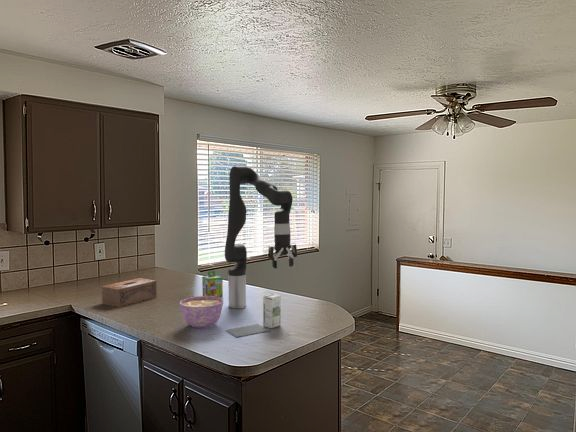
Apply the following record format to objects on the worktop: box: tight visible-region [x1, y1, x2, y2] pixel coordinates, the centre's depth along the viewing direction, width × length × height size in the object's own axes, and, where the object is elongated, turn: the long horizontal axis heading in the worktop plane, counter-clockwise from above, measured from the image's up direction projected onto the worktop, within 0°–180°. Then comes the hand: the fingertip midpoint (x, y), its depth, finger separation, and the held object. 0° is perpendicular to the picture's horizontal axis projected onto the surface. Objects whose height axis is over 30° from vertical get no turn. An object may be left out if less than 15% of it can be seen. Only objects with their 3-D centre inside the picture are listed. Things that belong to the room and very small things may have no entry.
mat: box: [225, 323, 270, 338], centre depth 202 cm, size 11×16×1 cm
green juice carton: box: [201, 270, 224, 298], centre depth 265 cm, size 9×9×15 cm
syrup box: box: [262, 293, 282, 329], centre depth 208 cm, size 6×6×14 cm
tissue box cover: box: [101, 277, 158, 308], centre depth 258 cm, size 26×14×10 cm, turn 147°
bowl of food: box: [179, 295, 224, 330], centre depth 210 cm, size 20×20×12 cm
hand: (283, 267), depth 214 cm, fingers open, 8 cm apart
